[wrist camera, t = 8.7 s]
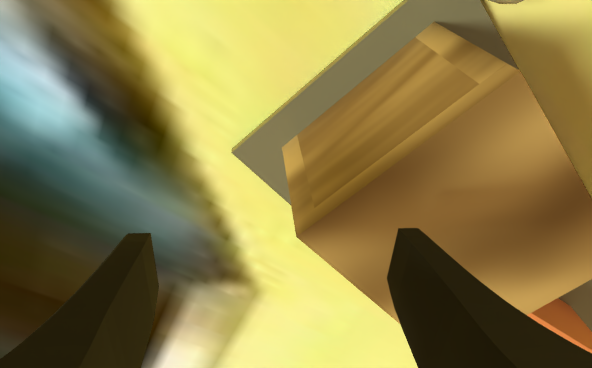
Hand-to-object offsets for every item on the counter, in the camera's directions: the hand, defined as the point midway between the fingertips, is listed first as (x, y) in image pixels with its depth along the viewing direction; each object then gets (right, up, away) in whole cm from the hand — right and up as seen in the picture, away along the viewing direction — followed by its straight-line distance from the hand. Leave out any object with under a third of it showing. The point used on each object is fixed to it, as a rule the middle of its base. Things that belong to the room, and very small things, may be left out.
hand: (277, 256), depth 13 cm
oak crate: (+7, +3, +10) cm, 13 cm away
